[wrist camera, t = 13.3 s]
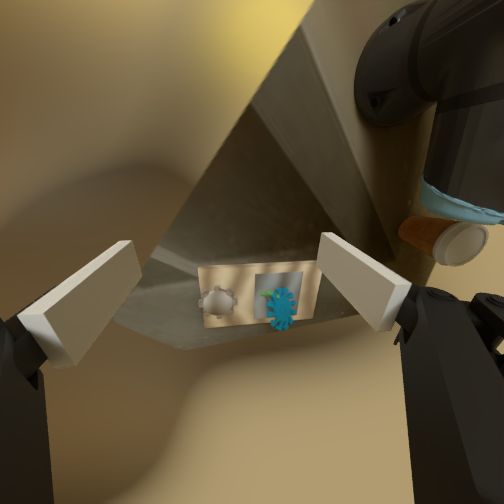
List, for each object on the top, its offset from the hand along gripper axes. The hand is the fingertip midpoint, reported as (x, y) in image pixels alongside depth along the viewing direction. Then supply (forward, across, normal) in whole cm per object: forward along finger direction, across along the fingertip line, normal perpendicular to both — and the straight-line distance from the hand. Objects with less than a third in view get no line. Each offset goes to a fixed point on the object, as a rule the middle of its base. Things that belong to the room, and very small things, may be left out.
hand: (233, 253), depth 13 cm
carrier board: (+27, +7, -25) cm, 37 cm away
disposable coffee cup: (+27, +45, -8) cm, 53 cm away
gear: (+25, +11, -25) cm, 37 cm away
